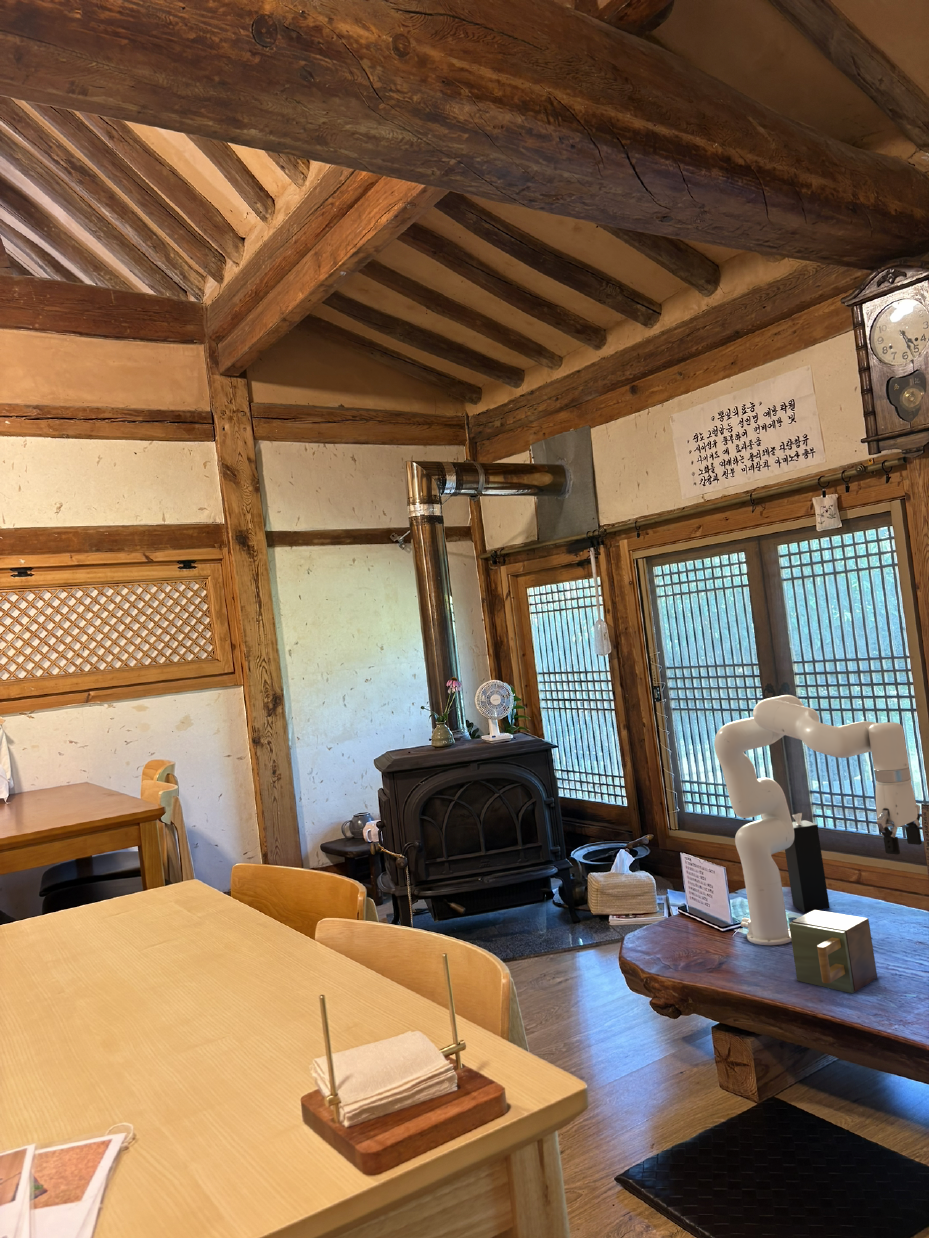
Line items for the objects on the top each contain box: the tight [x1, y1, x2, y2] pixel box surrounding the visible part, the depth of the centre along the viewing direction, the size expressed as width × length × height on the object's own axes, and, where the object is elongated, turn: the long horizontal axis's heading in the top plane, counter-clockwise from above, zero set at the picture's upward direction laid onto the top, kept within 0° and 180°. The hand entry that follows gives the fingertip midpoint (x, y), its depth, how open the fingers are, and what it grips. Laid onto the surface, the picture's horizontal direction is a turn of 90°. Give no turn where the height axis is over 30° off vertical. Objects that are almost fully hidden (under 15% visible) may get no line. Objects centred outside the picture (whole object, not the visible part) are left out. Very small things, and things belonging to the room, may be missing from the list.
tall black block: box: [784, 812, 831, 913], centre depth 267 cm, size 8×8×28 cm
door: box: [788, 921, 855, 994], centre depth 207 cm, size 8×14×14 cm, turn 37°
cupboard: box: [791, 910, 878, 993], centre depth 213 cm, size 10×14×14 cm
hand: (904, 848), depth 209 cm, fingers open, 9 cm apart
